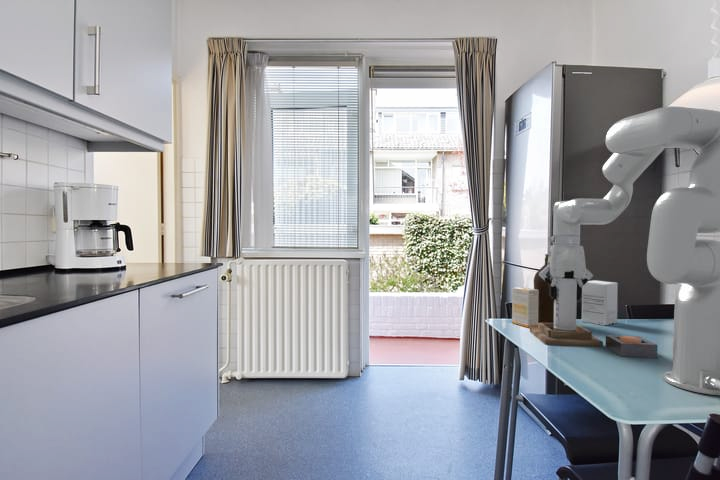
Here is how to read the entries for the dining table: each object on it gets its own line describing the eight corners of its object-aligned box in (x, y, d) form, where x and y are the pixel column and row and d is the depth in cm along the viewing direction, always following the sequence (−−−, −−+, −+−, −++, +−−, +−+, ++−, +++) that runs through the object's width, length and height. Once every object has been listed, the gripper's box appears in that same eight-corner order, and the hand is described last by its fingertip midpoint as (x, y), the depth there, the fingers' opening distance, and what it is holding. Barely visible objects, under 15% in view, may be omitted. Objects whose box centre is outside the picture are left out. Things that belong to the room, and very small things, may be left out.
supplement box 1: (538, 327, 147) (539, 289, 147) (528, 328, 145) (528, 290, 145) (521, 322, 155) (522, 286, 154) (511, 323, 153) (511, 287, 153)
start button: (645, 350, 114) (645, 340, 114) (625, 349, 115) (625, 339, 115) (635, 345, 119) (635, 336, 119) (616, 345, 120) (616, 335, 120)
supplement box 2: (592, 318, 163) (593, 279, 163) (617, 323, 156) (618, 282, 155) (580, 321, 158) (581, 281, 157) (605, 326, 150) (606, 283, 150)
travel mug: (573, 329, 133) (574, 266, 133) (578, 334, 127) (579, 268, 127) (551, 328, 135) (552, 265, 135) (555, 333, 129) (556, 267, 128)
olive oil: (545, 326, 148) (547, 255, 148) (526, 320, 159) (528, 253, 158) (571, 325, 151) (573, 255, 151) (550, 319, 161) (552, 253, 161)
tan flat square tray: (602, 346, 122) (603, 334, 122) (545, 344, 124) (545, 332, 124) (580, 333, 138) (580, 322, 138) (529, 331, 140) (529, 321, 140)
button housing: (657, 358, 112) (657, 344, 112) (620, 356, 113) (621, 343, 113) (638, 348, 121) (639, 336, 121) (605, 347, 122) (605, 335, 122)
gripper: (540, 241, 128) (539, 300, 128) (601, 241, 126) (600, 302, 126) (533, 240, 135) (532, 296, 136) (590, 241, 133) (589, 298, 134)
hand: (565, 298), depth 131 cm, fingers closed on travel mug, 6 cm apart
